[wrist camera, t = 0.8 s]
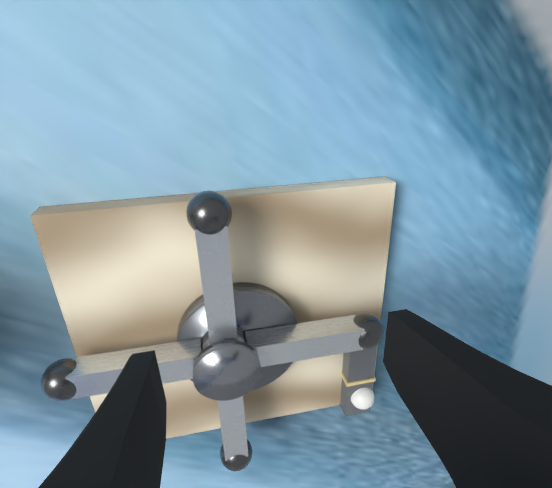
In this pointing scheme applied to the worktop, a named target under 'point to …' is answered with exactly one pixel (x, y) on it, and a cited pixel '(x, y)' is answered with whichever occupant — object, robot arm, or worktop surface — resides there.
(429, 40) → the worktop surface
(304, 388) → the stand plate
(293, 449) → the worktop surface
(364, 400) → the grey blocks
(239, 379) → the cam capstan
